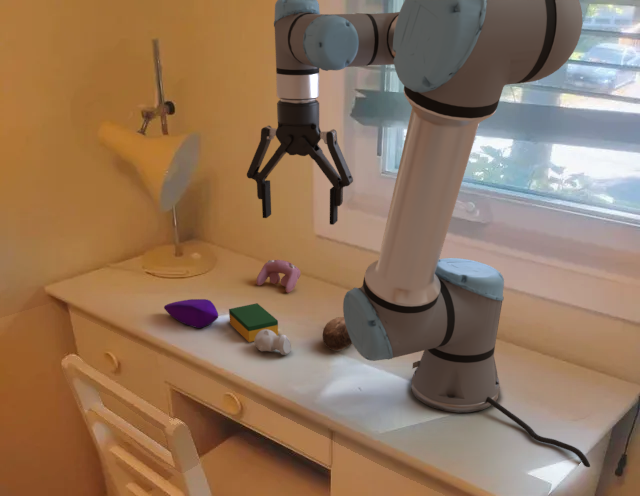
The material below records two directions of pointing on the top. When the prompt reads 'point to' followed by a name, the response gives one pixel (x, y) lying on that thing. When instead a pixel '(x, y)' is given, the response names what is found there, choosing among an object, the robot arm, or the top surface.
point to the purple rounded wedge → (193, 312)
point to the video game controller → (273, 270)
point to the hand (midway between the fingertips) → (299, 219)
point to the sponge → (252, 320)
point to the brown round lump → (336, 334)
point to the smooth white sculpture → (272, 342)
